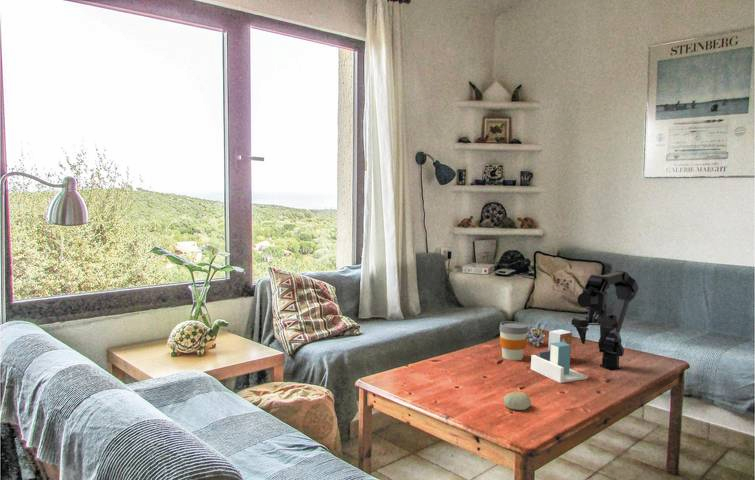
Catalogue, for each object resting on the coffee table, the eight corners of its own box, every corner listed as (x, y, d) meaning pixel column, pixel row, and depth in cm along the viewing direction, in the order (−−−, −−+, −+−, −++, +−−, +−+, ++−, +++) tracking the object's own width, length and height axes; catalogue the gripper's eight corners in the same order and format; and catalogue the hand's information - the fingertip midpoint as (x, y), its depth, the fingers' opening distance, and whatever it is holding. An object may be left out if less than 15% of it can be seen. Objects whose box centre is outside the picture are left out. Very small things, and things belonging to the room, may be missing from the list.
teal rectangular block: (560, 370, 237) (562, 341, 236) (569, 373, 233) (570, 345, 232) (549, 371, 235) (550, 343, 234) (557, 375, 230) (559, 346, 229)
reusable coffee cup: (530, 356, 259) (532, 323, 258) (521, 363, 249) (523, 329, 247) (503, 351, 266) (505, 320, 264) (494, 358, 255) (495, 325, 254)
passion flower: (536, 357, 276) (532, 341, 269) (518, 348, 284) (513, 332, 277) (550, 342, 280) (546, 325, 274) (532, 333, 288) (527, 317, 281)
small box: (558, 363, 249) (560, 334, 248) (547, 359, 255) (548, 331, 253) (570, 360, 254) (572, 332, 252) (559, 356, 259) (560, 328, 258)
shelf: (556, 365, 247) (557, 347, 246) (587, 378, 230) (588, 359, 230) (530, 369, 241) (531, 350, 240) (560, 382, 225) (561, 363, 224)
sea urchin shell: (498, 396, 204) (514, 381, 204) (512, 411, 205) (528, 396, 205) (505, 406, 195) (522, 390, 195) (520, 422, 196) (537, 406, 196)
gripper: (590, 309, 222) (586, 348, 223) (629, 310, 228) (625, 348, 229) (572, 304, 233) (568, 341, 234) (610, 305, 238) (606, 341, 239)
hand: (592, 343), depth 233 cm, fingers open, 9 cm apart
